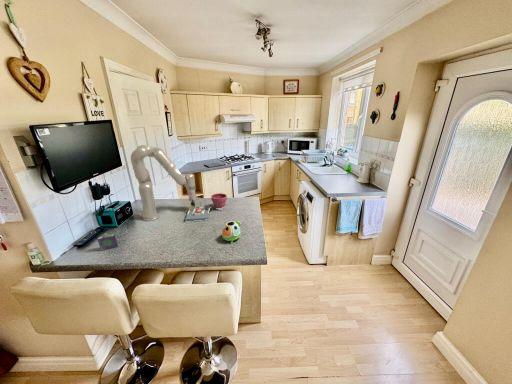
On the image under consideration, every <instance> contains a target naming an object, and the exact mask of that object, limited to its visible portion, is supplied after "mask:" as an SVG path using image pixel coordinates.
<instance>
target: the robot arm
mask: <svg viewBox="0 0 512 384" xmlns="http://www.w3.org/2000/svg"><path fill="white" fill-rule="evenodd" d="M147 157H149V158H153V159H155V160H156V161H157V162H158V163H159V164H160V166H161V167H162V168H163V169H164V170H165V172H166V173H168V175H169V176H170V177H171V178H172V179H173V180H174V182H175V183H177V185H179V186H185V185H186V191H187V195H188V201H189V202H190V205H194V207H196V203H195V201H196V198H197V194H196V181H195V180H196V179H195V175H194V173H181V172H180V171H179V169H178V168H177V167H176V164H175V163H174V162H173V161H172V159H170V157H169V156H168V155H167V154H166V153H165V151H164V149H162V148H159V147H156V146H149V145H144V144H140V145H138V146H137V148H135V150H132V152H131V155H130V162H131V163H130V164H131V166H132V170H133V173H134V177H135V179H136V180H137V181H138V192H139V193H138V194H139V196H140V201H141V205H142V209H143V213H142V212H141V213H139V217H142V220H143V221H145V222H152V221H155V220H158V218H160V214H159V213H158V212H157V206H156V201H155V200H156V199H155V196H154V191H153V182H152V179H151V175H150V172H149V170H148V168H146V167H147V166H146V163H145V161H144V160H145V158H147Z"/></svg>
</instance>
